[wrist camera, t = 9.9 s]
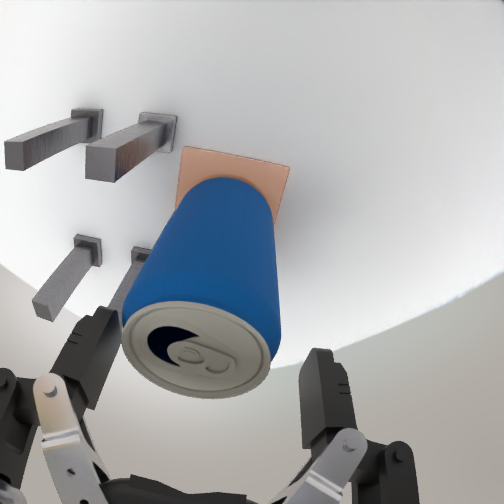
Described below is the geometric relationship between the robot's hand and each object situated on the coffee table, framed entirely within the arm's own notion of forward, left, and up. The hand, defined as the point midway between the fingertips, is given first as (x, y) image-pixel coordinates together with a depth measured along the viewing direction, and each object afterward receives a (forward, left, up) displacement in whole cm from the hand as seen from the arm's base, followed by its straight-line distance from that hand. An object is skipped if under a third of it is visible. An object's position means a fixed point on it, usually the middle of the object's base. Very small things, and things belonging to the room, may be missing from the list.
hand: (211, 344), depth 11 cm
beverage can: (+1, 0, -11) cm, 11 cm away
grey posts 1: (+12, 0, -11) cm, 16 cm away
